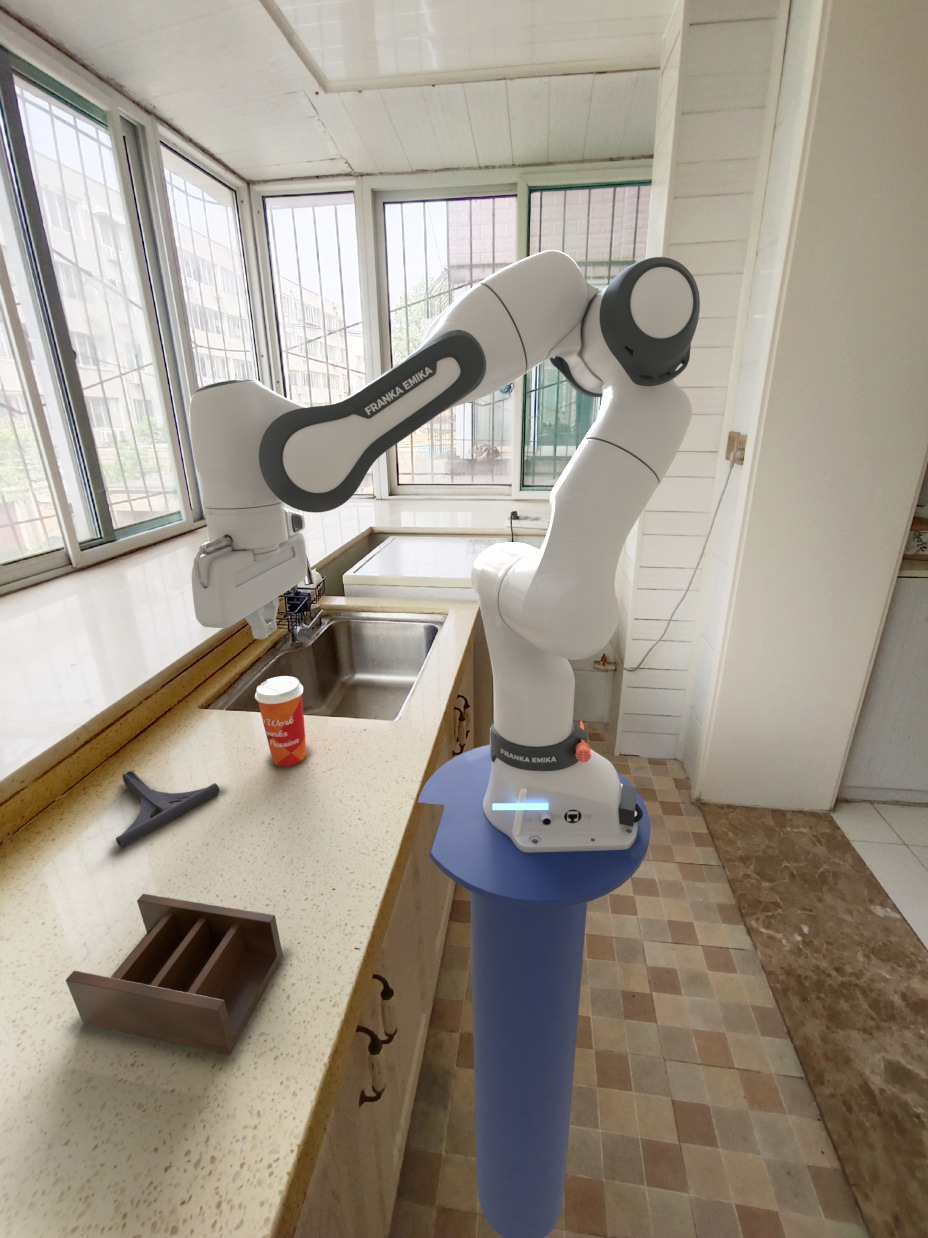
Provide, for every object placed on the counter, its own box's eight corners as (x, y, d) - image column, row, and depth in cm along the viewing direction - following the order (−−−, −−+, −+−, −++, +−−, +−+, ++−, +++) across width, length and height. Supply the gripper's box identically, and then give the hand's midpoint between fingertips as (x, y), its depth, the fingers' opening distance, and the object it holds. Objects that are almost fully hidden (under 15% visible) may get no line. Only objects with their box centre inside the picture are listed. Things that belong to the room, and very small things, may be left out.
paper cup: (256, 765, 92) (243, 692, 87) (284, 741, 98) (273, 672, 94) (296, 774, 89) (284, 699, 84) (321, 748, 96) (312, 677, 91)
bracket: (172, 761, 93) (169, 748, 92) (220, 793, 85) (217, 779, 84) (79, 809, 83) (74, 794, 82) (123, 851, 74) (118, 835, 73)
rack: (283, 955, 59) (275, 914, 57) (229, 1055, 50) (217, 1011, 48) (155, 933, 62) (142, 893, 60) (82, 1023, 53) (64, 980, 51)
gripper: (220, 548, 54) (243, 672, 59) (310, 513, 73) (321, 609, 78) (165, 547, 55) (191, 668, 60) (267, 513, 74) (281, 608, 79)
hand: (265, 635), depth 69 cm, fingers closed
